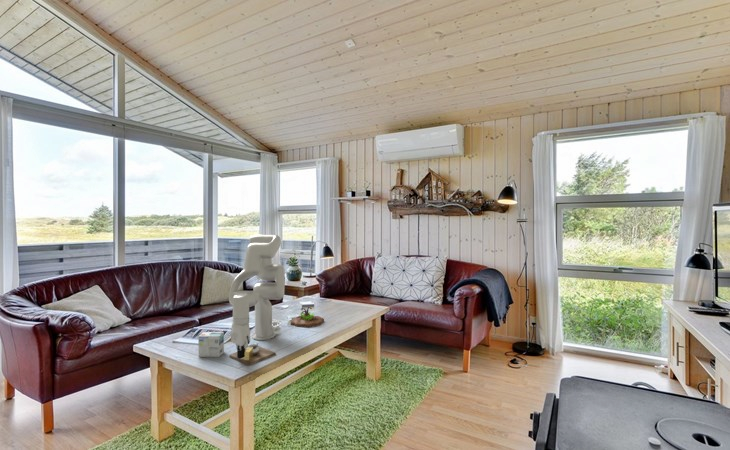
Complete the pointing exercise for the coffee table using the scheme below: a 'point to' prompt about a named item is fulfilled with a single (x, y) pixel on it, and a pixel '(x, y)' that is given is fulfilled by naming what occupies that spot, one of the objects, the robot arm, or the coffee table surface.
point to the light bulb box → (211, 344)
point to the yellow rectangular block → (251, 352)
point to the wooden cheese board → (255, 358)
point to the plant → (307, 319)
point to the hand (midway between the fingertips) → (241, 357)
